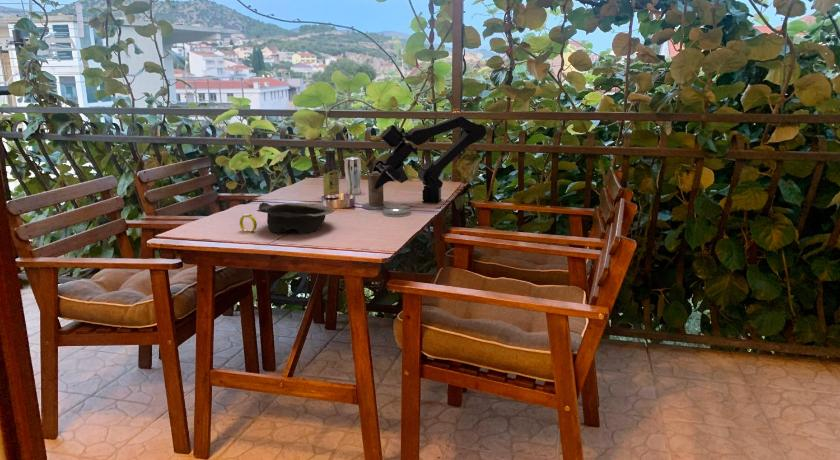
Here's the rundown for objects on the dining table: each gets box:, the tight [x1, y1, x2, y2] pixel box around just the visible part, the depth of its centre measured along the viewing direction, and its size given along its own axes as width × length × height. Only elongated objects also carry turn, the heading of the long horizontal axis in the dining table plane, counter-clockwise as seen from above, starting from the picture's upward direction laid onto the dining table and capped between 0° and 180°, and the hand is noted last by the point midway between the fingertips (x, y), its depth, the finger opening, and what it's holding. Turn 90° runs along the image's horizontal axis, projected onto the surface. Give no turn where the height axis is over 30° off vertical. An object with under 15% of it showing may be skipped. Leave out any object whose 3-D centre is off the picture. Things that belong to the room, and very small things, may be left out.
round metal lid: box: [382, 204, 411, 218], centre depth 219 cm, size 10×10×2 cm
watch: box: [239, 213, 258, 232], centre depth 198 cm, size 6×3×6 cm, turn 67°
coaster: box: [361, 202, 391, 211], centre depth 231 cm, size 11×11×1 cm
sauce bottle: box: [322, 149, 340, 197], centre depth 244 cm, size 7×6×20 cm
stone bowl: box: [256, 201, 335, 234], centre depth 200 cm, size 25×25×9 cm
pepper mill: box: [367, 171, 385, 207], centre depth 229 cm, size 5×5×13 cm
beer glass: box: [344, 156, 362, 196], centre depth 253 cm, size 7×7×15 cm
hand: (372, 186), depth 228 cm, fingers open, 9 cm apart
